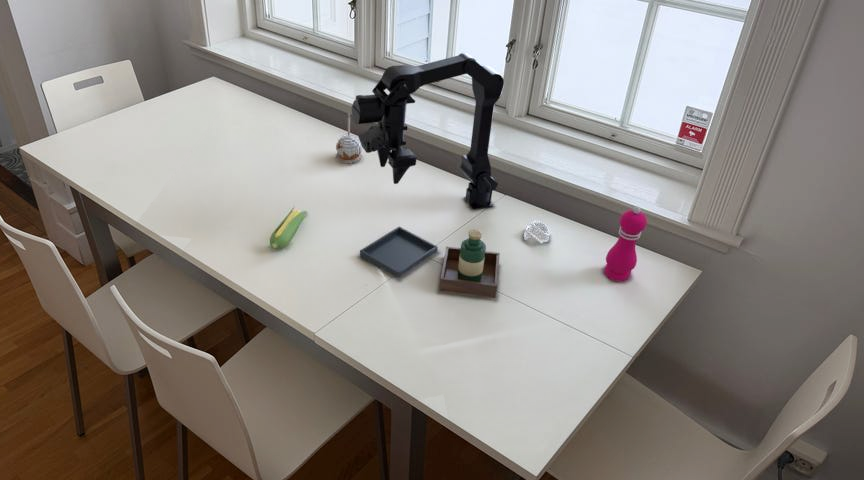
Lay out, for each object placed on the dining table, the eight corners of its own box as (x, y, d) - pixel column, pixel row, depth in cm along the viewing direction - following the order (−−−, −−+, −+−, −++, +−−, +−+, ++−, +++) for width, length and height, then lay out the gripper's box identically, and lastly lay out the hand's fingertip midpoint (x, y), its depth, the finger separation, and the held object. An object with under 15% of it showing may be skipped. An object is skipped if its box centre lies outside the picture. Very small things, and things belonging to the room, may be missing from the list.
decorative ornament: (339, 151, 213) (338, 108, 204) (363, 153, 213) (363, 110, 203) (334, 163, 207) (333, 118, 198) (359, 165, 206) (359, 121, 197)
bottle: (475, 267, 166) (481, 224, 158) (485, 281, 162) (492, 238, 154) (453, 271, 165) (458, 228, 157) (462, 286, 160) (468, 242, 152)
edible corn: (265, 251, 170) (264, 237, 167) (295, 211, 185) (294, 197, 183) (284, 255, 169) (283, 241, 166) (312, 214, 184) (311, 200, 181)
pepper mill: (598, 265, 169) (617, 198, 157) (625, 264, 170) (646, 198, 158) (607, 283, 164) (628, 215, 151) (636, 282, 164) (659, 215, 152)
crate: (444, 259, 170) (446, 246, 167) (497, 265, 168) (499, 252, 166) (439, 292, 159) (440, 278, 157) (495, 299, 158) (497, 286, 155)
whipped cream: (524, 230, 183) (525, 214, 180) (549, 231, 181) (550, 216, 179) (523, 245, 176) (524, 229, 173) (549, 246, 175) (550, 230, 172)
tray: (398, 232, 178) (399, 226, 177) (437, 253, 172) (437, 246, 170) (359, 257, 169) (359, 250, 168) (398, 279, 163) (399, 272, 161)
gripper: (350, 107, 169) (348, 162, 178) (376, 139, 155) (373, 197, 164) (391, 103, 172) (386, 157, 182) (420, 134, 159) (414, 191, 168)
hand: (389, 174), depth 174 cm, fingers open, 9 cm apart
